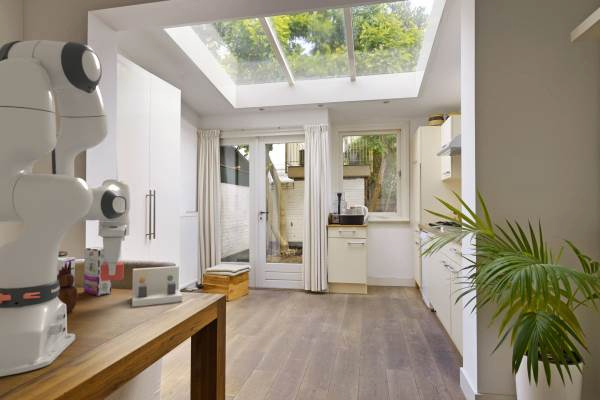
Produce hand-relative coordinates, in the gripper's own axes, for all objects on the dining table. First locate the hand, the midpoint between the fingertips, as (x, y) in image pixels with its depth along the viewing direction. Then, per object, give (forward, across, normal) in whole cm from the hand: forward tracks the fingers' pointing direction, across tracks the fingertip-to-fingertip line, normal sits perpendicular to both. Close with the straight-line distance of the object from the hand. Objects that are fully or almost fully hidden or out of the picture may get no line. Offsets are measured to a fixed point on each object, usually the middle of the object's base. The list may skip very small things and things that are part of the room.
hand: (112, 273), depth 110 cm
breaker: (+10, 0, +9) cm, 13 cm away
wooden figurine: (+10, +2, -12) cm, 16 cm away
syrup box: (+10, -12, -16) cm, 22 cm away
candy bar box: (+10, -20, -6) cm, 23 cm away
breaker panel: (+10, -1, +14) cm, 17 cm away
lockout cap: (+2, 0, 0) cm, 2 cm away
